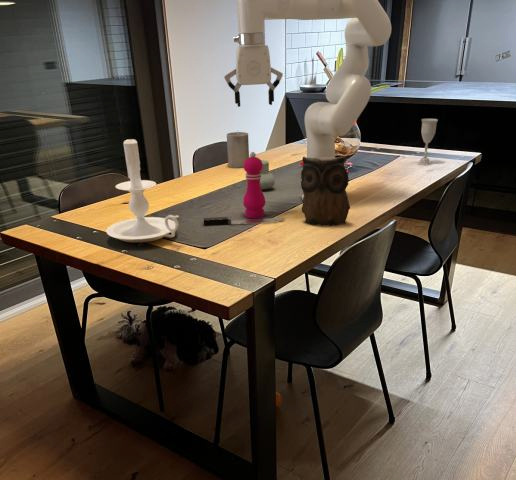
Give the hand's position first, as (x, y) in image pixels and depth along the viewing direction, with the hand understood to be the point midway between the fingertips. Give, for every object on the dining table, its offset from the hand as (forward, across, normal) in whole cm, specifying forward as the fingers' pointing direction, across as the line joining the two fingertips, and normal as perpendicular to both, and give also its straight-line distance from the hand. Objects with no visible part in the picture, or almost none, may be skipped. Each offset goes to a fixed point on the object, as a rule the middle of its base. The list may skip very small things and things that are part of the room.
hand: (254, 105), depth 163 cm
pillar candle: (+34, -3, +74) cm, 81 cm away
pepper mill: (+33, -2, -4) cm, 33 cm away
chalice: (+35, +78, +60) cm, 104 cm away
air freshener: (+33, +4, +31) cm, 46 cm away
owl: (+33, +20, -13) cm, 41 cm away
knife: (+33, -6, -10) cm, 35 cm away
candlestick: (+32, -35, -21) cm, 52 cm away
